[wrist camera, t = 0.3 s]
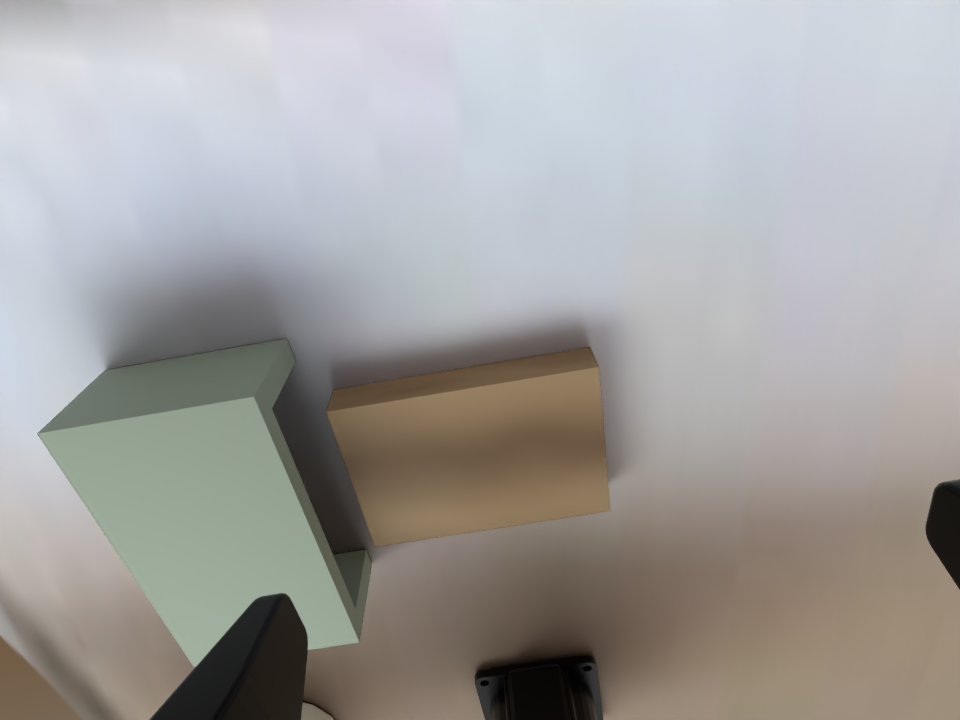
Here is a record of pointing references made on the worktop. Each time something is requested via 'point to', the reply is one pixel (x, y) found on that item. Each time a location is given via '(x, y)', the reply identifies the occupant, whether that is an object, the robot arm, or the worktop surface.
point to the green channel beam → (207, 494)
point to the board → (475, 446)
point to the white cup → (313, 713)
